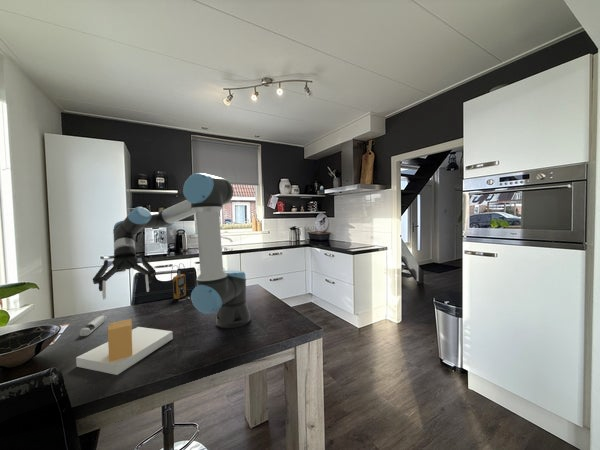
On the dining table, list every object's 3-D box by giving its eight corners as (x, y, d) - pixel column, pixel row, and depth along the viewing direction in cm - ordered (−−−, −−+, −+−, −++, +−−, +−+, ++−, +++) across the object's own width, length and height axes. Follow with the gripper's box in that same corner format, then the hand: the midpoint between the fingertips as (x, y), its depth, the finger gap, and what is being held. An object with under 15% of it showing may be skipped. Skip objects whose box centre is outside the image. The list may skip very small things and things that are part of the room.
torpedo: (90, 337, 97) (90, 321, 97) (76, 339, 96) (75, 323, 95) (110, 319, 114) (110, 305, 114) (98, 320, 113) (98, 306, 112)
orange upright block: (132, 347, 83) (131, 318, 83) (132, 355, 78) (131, 325, 78) (110, 352, 80) (109, 323, 79) (109, 361, 75) (107, 330, 74)
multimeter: (184, 302, 134) (183, 267, 133) (168, 301, 136) (167, 266, 136) (200, 294, 149) (199, 262, 148) (186, 293, 151) (185, 261, 150)
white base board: (172, 338, 94) (172, 317, 94) (117, 374, 73) (115, 347, 73) (138, 333, 99) (137, 313, 98) (76, 366, 77) (75, 340, 77)
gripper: (157, 253, 113) (163, 291, 101) (87, 260, 98) (84, 306, 87) (158, 242, 109) (164, 281, 97) (85, 248, 94) (81, 295, 82)
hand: (126, 293), depth 92 cm, fingers open, 13 cm apart
